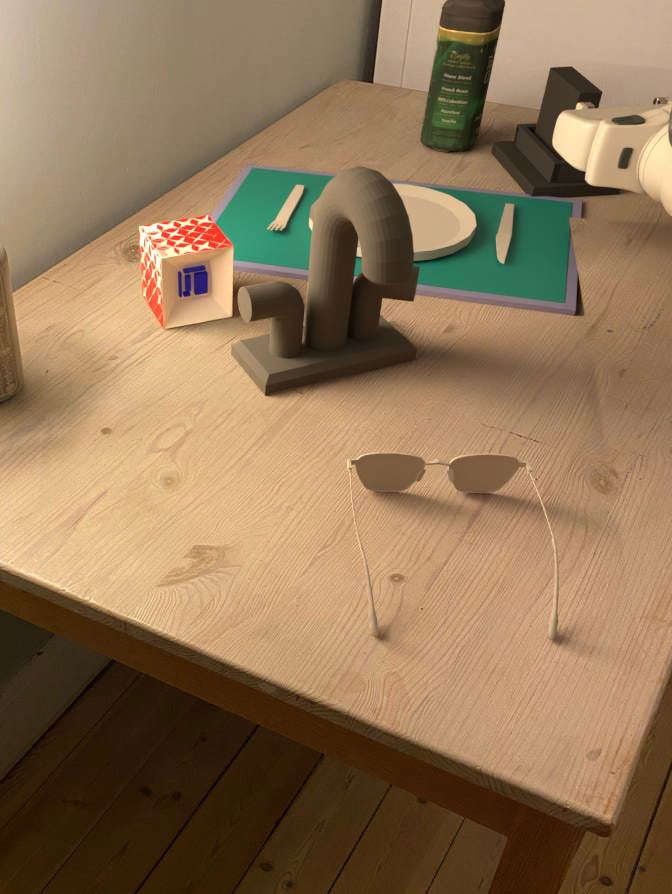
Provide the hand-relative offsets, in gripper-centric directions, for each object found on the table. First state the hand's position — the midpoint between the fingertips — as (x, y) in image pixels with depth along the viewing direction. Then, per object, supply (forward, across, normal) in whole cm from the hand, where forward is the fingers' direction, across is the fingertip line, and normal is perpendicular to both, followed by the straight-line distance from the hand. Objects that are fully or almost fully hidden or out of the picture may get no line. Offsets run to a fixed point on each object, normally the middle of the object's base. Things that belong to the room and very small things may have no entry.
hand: (619, 106), depth 112 cm
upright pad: (+12, 0, +11) cm, 16 cm away
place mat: (-3, +27, +12) cm, 30 cm away
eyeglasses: (-62, +38, +12) cm, 74 cm away
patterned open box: (-18, +54, +12) cm, 58 cm away
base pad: (+12, 0, +12) cm, 17 cm away
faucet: (-34, +40, +12) cm, 54 cm away
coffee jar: (+25, +11, +12) cm, 30 cm away
